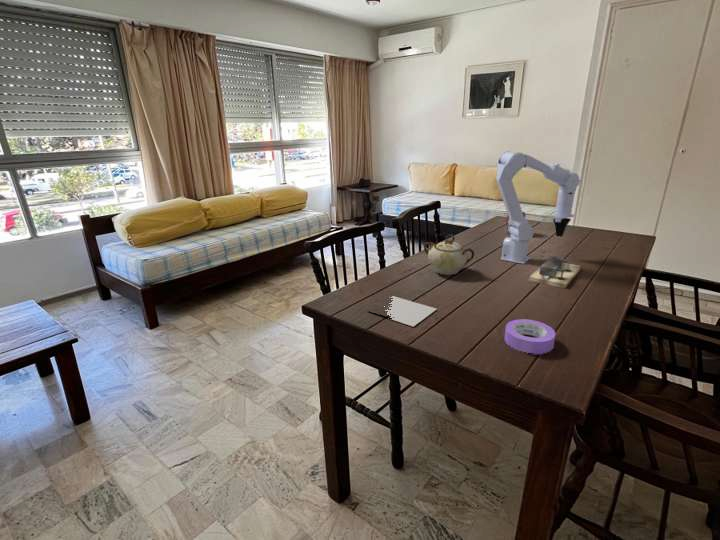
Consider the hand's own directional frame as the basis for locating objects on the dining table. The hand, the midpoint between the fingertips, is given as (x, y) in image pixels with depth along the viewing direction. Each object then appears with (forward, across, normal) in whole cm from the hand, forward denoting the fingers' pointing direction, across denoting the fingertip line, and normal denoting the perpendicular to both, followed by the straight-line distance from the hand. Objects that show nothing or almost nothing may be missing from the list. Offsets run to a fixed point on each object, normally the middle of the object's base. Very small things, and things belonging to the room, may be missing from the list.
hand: (559, 236), depth 155 cm
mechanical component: (+10, +28, +27) cm, 40 cm away
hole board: (+9, -21, -5) cm, 24 cm away
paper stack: (+10, -75, +20) cm, 78 cm away
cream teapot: (+10, -41, +29) cm, 51 cm away
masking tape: (+10, -75, -12) cm, 77 cm away
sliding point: (+7, -19, -5) cm, 21 cm away
